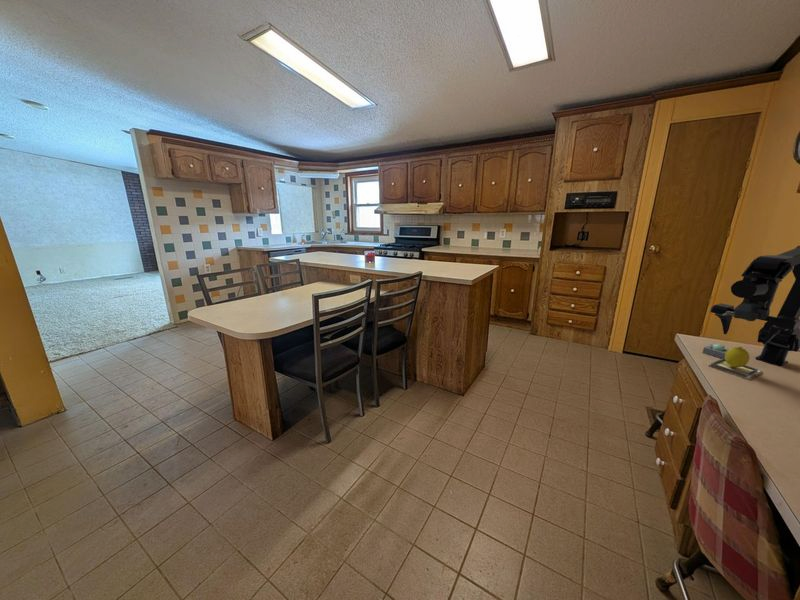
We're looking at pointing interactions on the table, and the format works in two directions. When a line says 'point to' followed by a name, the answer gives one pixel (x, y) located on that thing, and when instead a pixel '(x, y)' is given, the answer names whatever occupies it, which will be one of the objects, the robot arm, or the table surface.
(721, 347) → the button
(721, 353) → the button housing
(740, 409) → the table surface
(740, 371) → the grey tray
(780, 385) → the table surface
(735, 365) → the lemon
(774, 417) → the table surface
